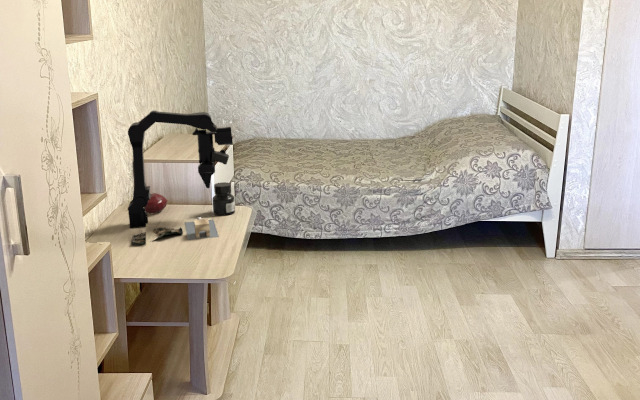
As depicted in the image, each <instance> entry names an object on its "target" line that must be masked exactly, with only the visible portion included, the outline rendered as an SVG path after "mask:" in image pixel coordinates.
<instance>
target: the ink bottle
mask: <svg viewBox="0 0 640 400" xmlns="http://www.w3.org/2000/svg"><path fill="white" fill-rule="evenodd" d="M213 190H214V196H213V197H212V209H213V214H214V215H216V216H230V215H233V214H235V212H236V205H235V204H236V203H235V196H234V195H233V194H232V183H230V182H226V181H225V182H223V181H222V182H216V183H214V185H213Z"/></svg>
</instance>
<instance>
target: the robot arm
mask: <svg viewBox="0 0 640 400" xmlns="http://www.w3.org/2000/svg"><path fill="white" fill-rule="evenodd" d="M155 123H160V124H161V123H162V124H177V125H184V126H185V125H186V126H190V127H193V128H194V130H193V131H192V136H197V150H198V151H197V152H198V167H197V173H198V174H199V176H200V178H201V180H202V182H203V184H204V186H205V188H206V189H210V188H211V180H212V176H213V175H214V174H215V172H216V162H218V163H221V164H223V165H227V163H228V162H229V161H228V160H229V157H230V156H229V154H228V153H227V151H226V150H225V149H223V148H222V149H220V150H219V151H217V150H215V147H214V143H215V144H217V146H228V145H230V146H231V145H233V134H232V127H231V126H226V127H217V126H216V124H215V123H214V122H213V120H212V117H211V115H210V113H209V112H206V111H201V112H200V111H199V112H193V113H179V112H166V111H157V110H151V111H150V112H149V113H148V114H147V115H145V116H144V117H143V118H142V119H140V121H136V122H133V123H131V124H130V126H129V127H128V129H127V134H128V135H127V136H128V140H129V142H130V145H131V147H132V149H131V150H132V159H133V160H132V162H133V175H134V178H133V179H134V187H133V193H132V200H130V202H129V204H128V207H127V211H128V219H129V221H128V223H129V229H133V228H134V229H135V228H146V227H147V225H148V224H149V218H148V217H149V216H148V213H147V212H146V211H145V208H144V207H145V206H146V205H147V204H148V201H149V200H150V197H151V194H152V193H151V186H150V185H148V186H147V184H146V183H147V182H146V176H145V175H146V174H145V159H144V142H145V134H146V131H147V130H149V129H150V128H151V127H152V126H153V125H154V124H155ZM213 135H214V136H213ZM213 137H214V138H213Z"/></svg>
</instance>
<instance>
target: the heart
mask: <svg viewBox="0 0 640 400" xmlns="http://www.w3.org/2000/svg"><path fill="white" fill-rule="evenodd" d="M150 194H151V197H150V200H149V201H148V204H147V205H146V206H145V207H144V208H145V211H146V212H147V214H151V215H157V214H159V213H161V212H162V211H163V210H164V209H165V208H166V207H167V203H168V199H167V198H166V197H165V196H164V195H163V194H160V193H157V192H153V193H150Z"/></svg>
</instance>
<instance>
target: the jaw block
mask: <svg viewBox="0 0 640 400" xmlns="http://www.w3.org/2000/svg"><path fill="white" fill-rule="evenodd" d="M208 220H209V218H201V219H200V220H197V219H194V220H193V221H194V226H195V235H196V238H200V237H199V232H200V231H205V232H206V236H207V237H210V226H209V221H208Z"/></svg>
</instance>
